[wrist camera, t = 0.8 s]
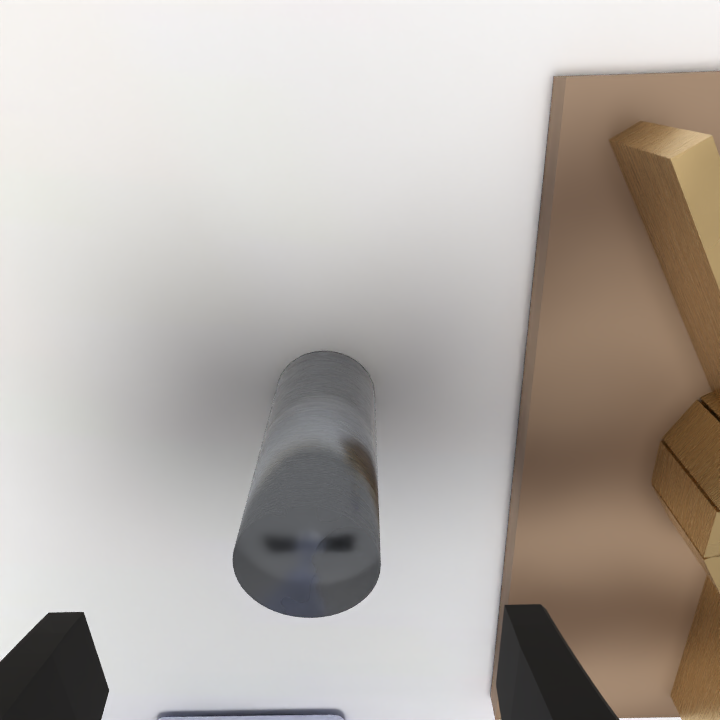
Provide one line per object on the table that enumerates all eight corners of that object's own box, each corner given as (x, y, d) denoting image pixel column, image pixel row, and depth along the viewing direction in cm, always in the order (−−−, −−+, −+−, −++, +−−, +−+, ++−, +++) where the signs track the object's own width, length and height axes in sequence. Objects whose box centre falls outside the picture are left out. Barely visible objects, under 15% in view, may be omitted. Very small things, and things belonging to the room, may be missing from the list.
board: (749, 692, 25) (763, 715, 24) (490, 695, 25) (495, 719, 24) (995, 61, 14) (1037, 62, 13) (553, 76, 15) (566, 77, 14)
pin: (375, 435, 19) (381, 616, 13) (281, 437, 19) (241, 618, 13) (373, 349, 18) (379, 505, 12) (272, 352, 18) (223, 508, 12)
